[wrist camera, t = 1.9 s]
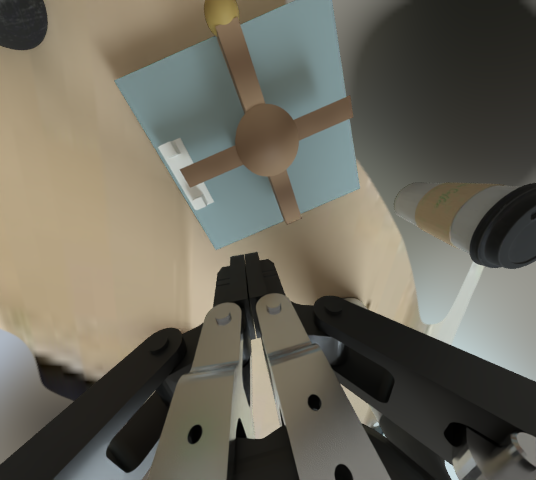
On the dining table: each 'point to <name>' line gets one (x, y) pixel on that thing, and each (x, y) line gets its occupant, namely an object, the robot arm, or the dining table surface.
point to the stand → (230, 113)
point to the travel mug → (22, 23)
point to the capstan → (259, 118)
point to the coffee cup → (476, 219)
